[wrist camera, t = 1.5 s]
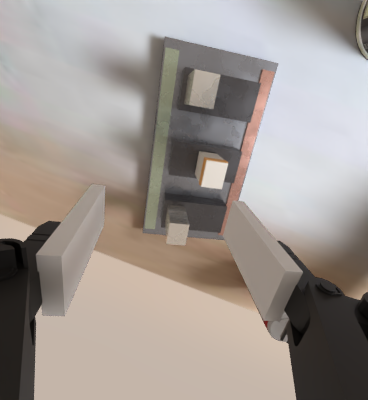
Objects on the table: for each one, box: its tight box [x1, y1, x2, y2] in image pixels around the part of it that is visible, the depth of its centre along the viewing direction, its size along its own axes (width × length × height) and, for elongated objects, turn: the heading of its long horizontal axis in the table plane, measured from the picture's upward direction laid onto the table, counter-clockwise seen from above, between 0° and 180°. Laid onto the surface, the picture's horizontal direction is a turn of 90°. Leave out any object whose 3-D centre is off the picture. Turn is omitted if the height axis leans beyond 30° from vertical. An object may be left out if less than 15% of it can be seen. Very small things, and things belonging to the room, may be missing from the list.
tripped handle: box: [195, 151, 228, 189], centre depth 26 cm, size 2×3×5 cm
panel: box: [143, 37, 278, 245], centre depth 28 cm, size 14×26×9 cm, turn 170°
